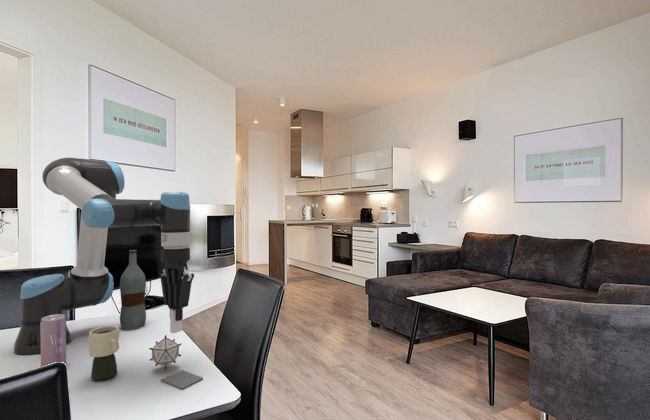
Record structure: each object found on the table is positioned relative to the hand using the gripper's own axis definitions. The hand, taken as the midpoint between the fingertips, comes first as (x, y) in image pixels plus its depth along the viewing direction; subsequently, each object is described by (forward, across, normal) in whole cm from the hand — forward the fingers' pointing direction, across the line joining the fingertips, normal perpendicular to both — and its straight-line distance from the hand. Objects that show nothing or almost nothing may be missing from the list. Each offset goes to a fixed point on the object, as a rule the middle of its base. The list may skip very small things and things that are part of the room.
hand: (176, 331), depth 102 cm
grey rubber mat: (+12, +5, -2) cm, 13 cm away
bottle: (+12, -50, +16) cm, 54 cm away
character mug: (+12, -15, -12) cm, 23 cm away
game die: (+12, -5, 0) cm, 13 cm away
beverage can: (+12, -33, -17) cm, 39 cm away
